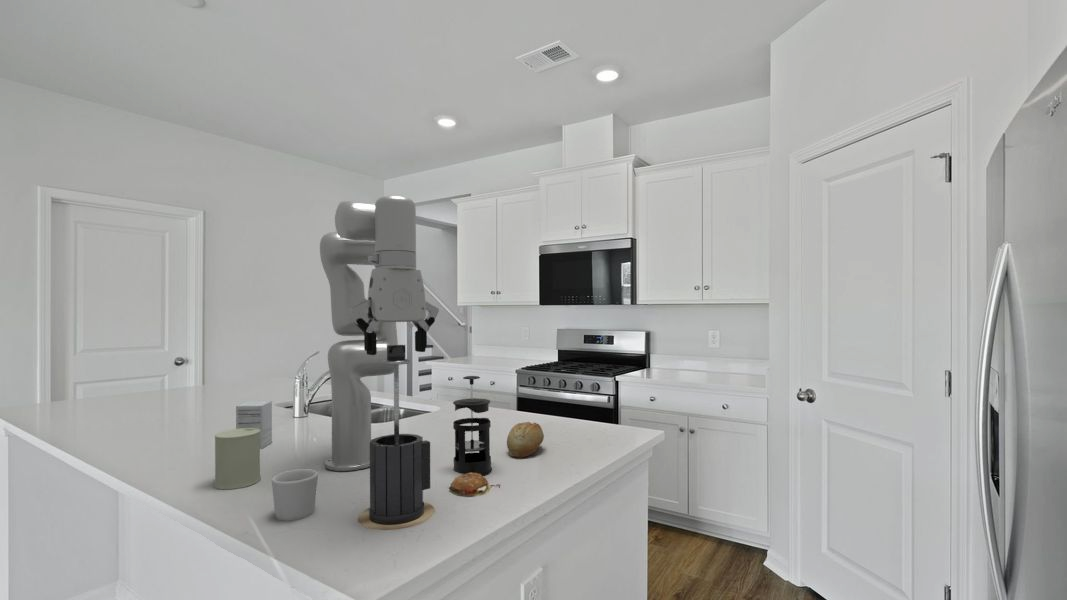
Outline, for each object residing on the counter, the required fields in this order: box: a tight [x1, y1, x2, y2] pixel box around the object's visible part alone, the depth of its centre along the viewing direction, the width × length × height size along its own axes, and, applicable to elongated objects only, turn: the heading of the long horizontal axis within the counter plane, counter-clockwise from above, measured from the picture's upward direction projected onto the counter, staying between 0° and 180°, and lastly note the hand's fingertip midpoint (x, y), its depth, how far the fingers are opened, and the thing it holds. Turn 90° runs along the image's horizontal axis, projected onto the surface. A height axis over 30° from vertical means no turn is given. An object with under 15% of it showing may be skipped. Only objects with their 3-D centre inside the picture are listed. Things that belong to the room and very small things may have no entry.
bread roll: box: [506, 421, 545, 459], centre depth 139 cm, size 10×15×8 cm, turn 168°
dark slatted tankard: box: [368, 433, 431, 525], centre depth 95 cm, size 10×12×14 cm
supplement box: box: [235, 400, 273, 449], centre depth 148 cm, size 7×7×13 cm
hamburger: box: [449, 472, 501, 497], centre depth 109 cm, size 14×14×6 cm
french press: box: [452, 375, 493, 477], centre depth 123 cm, size 12×9×23 cm
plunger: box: [382, 344, 411, 445], centre depth 95 cm, size 6×6×21 cm
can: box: [213, 428, 262, 491], centre depth 116 cm, size 9×9×12 cm
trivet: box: [357, 501, 436, 531], centre depth 95 cm, size 14×14×1 cm
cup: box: [271, 468, 319, 521], centre depth 97 cm, size 11×8×8 cm
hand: (396, 353), depth 95 cm, fingers open, 9 cm apart
